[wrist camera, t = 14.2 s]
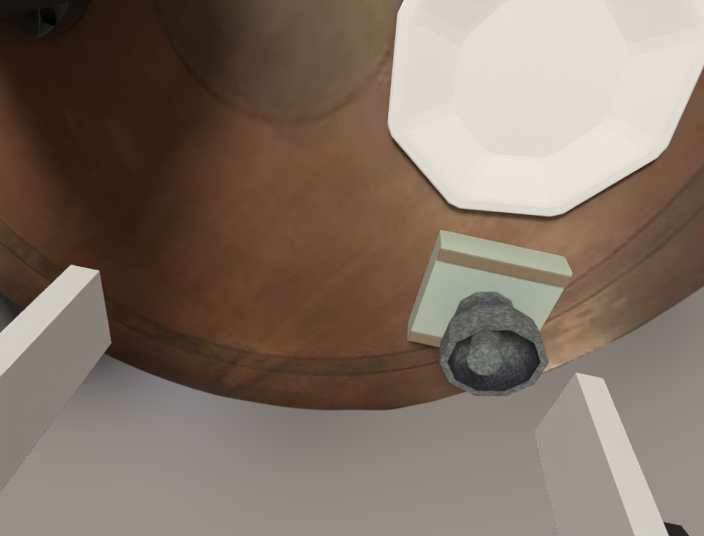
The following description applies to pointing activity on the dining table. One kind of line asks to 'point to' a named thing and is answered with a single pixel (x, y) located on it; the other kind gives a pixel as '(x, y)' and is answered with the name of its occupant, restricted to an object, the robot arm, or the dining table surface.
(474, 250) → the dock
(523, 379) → the mortar and pestle
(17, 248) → the dining table surface
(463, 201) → the plate
